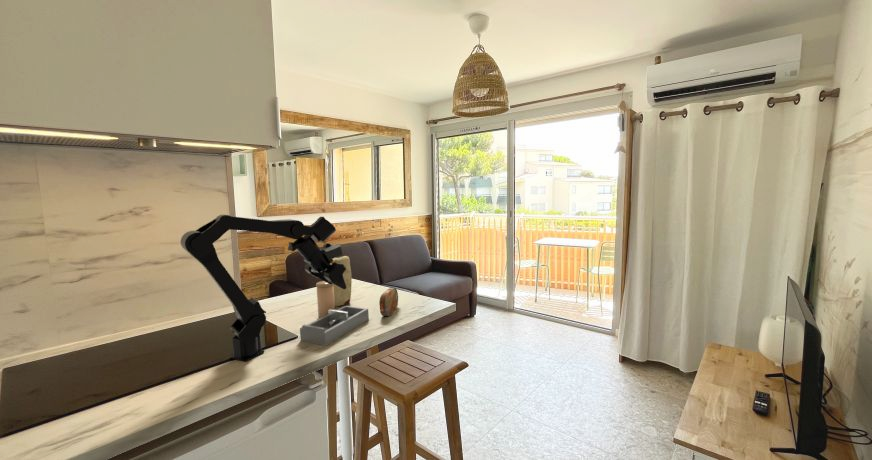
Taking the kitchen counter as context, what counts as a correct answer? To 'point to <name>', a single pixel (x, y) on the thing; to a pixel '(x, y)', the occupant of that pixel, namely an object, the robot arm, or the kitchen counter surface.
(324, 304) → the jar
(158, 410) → the kitchen counter surface
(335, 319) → the pusher
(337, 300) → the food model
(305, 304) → the kitchen counter surface
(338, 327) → the grey tray
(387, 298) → the brown flat rounded slab
